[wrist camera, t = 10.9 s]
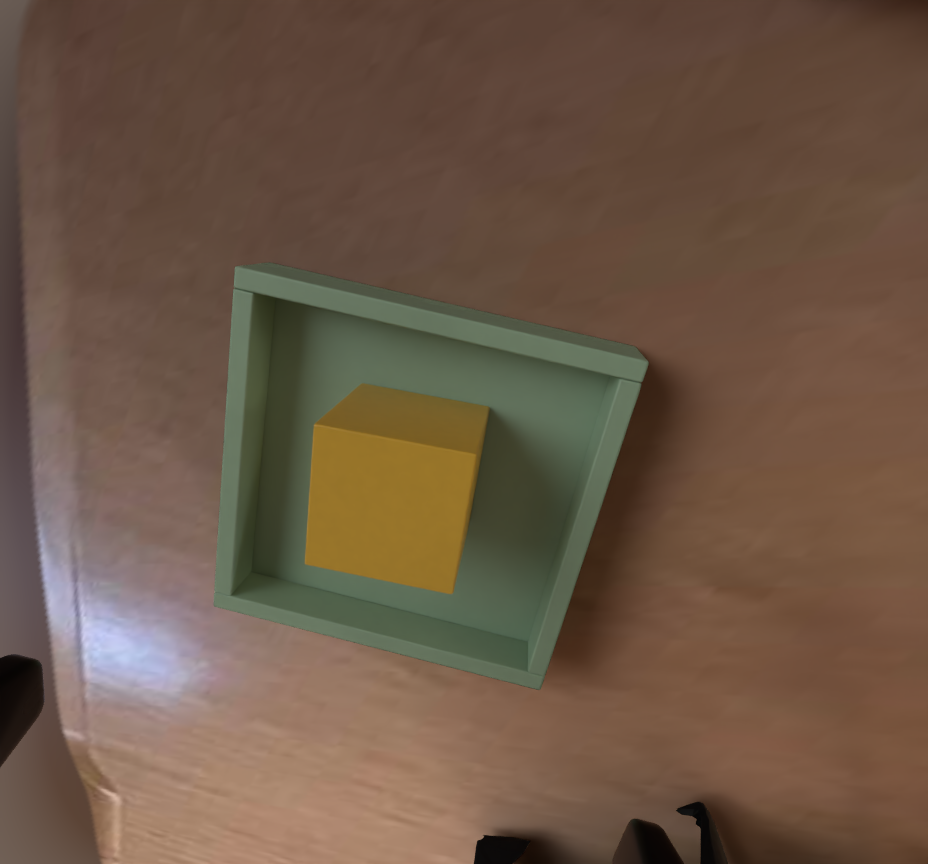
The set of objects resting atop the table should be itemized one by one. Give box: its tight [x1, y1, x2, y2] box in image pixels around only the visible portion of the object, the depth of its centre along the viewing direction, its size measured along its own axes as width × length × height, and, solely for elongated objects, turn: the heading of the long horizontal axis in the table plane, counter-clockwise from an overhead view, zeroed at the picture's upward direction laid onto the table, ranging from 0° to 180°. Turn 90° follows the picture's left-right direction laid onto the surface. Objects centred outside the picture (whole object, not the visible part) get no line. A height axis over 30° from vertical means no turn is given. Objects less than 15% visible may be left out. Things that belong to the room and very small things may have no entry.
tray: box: [214, 262, 649, 690], centre depth 18 cm, size 11×11×2 cm
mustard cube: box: [305, 383, 490, 594], centre depth 16 cm, size 4×4×4 cm
